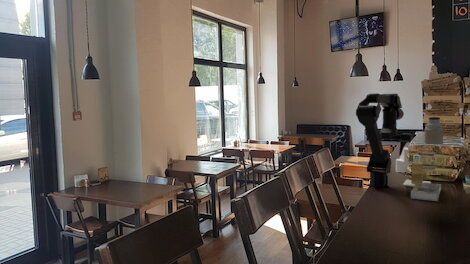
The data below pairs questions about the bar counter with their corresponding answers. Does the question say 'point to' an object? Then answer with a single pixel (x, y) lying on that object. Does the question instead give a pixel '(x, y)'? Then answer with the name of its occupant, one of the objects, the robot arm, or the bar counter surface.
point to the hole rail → (426, 191)
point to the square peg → (417, 172)
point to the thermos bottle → (434, 131)
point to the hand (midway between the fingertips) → (389, 155)
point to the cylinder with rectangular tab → (402, 161)
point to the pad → (408, 183)
